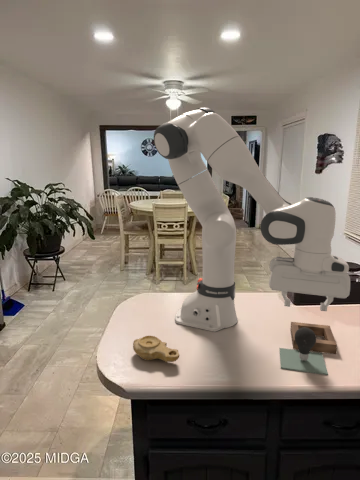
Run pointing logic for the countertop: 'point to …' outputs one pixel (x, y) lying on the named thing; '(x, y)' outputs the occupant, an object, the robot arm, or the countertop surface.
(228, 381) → the countertop surface
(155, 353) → the oil lamp
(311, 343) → the light bulb
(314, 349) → the socket block
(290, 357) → the rubber mat
